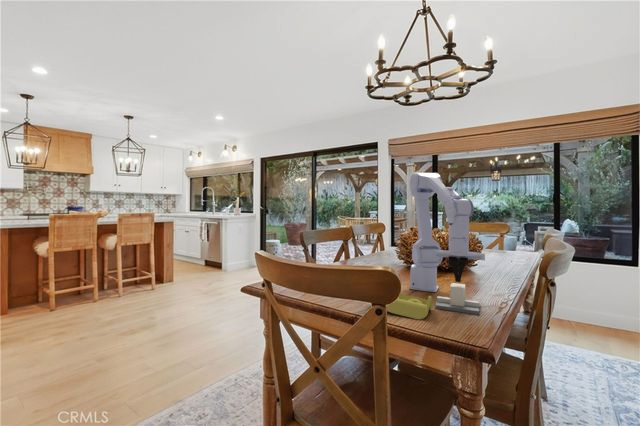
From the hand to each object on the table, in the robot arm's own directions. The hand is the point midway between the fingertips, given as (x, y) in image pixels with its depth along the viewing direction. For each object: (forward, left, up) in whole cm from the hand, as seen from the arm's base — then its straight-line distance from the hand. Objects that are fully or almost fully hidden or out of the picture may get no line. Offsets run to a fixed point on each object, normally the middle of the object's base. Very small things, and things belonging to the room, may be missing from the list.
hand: (458, 281), depth 97 cm
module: (0, 0, -7) cm, 7 cm away
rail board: (0, 0, -8) cm, 8 cm away
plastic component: (-16, -11, -8) cm, 21 cm away
